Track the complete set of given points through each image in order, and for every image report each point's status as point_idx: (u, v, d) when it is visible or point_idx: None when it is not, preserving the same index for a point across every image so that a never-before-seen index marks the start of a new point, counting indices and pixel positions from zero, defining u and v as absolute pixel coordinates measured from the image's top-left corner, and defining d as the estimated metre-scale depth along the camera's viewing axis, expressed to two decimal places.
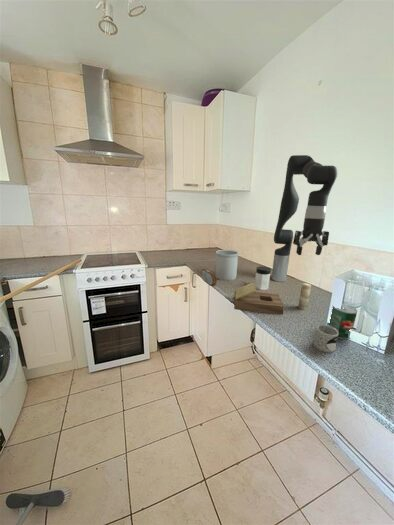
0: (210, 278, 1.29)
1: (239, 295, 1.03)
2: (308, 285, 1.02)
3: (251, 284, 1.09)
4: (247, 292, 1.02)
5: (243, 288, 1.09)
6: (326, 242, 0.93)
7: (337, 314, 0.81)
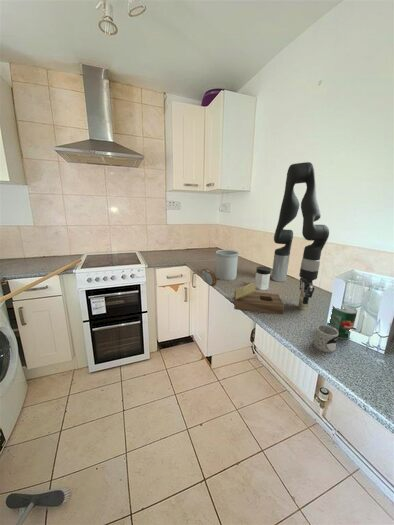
0: (210, 278, 1.29)
1: (239, 295, 1.03)
2: None
3: (251, 284, 1.09)
4: (247, 292, 1.02)
5: (243, 288, 1.09)
6: None
7: (337, 314, 0.81)
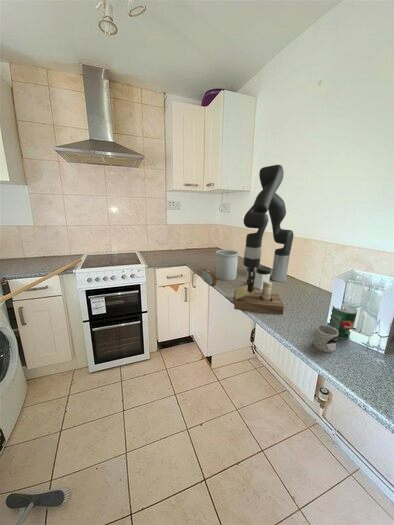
0: (210, 278, 1.29)
1: (239, 295, 1.03)
2: (269, 283, 1.03)
3: None
4: (247, 292, 1.02)
5: (243, 288, 1.09)
6: None
7: (337, 314, 0.81)
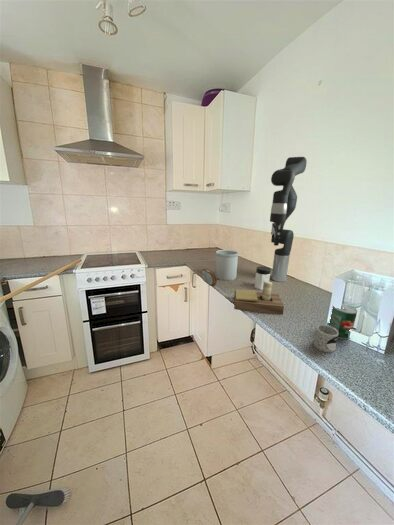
0: (210, 278, 1.29)
1: (240, 297, 1.04)
2: (269, 283, 1.03)
3: (253, 291, 1.09)
4: (249, 297, 1.03)
5: (244, 292, 1.09)
6: None
7: (337, 314, 0.81)
